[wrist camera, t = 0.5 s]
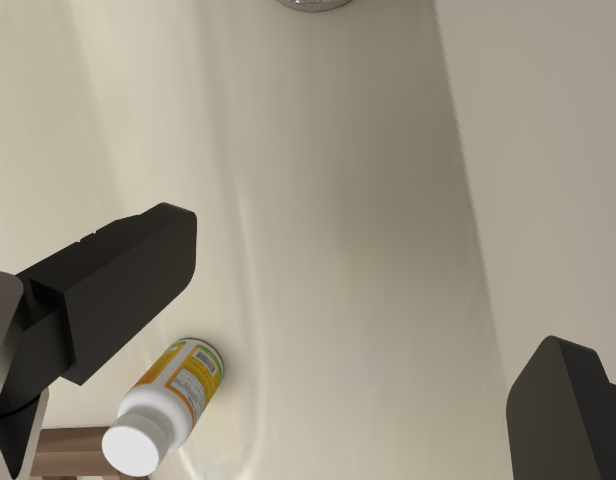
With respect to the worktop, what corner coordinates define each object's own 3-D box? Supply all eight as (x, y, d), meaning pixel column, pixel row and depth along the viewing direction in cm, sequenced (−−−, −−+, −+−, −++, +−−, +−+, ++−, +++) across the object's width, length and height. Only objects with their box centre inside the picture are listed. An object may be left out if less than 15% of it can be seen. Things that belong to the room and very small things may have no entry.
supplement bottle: (165, 384, 36) (92, 475, 26) (166, 331, 34) (89, 408, 25) (222, 397, 35) (168, 495, 26) (227, 344, 33) (170, 428, 24)
